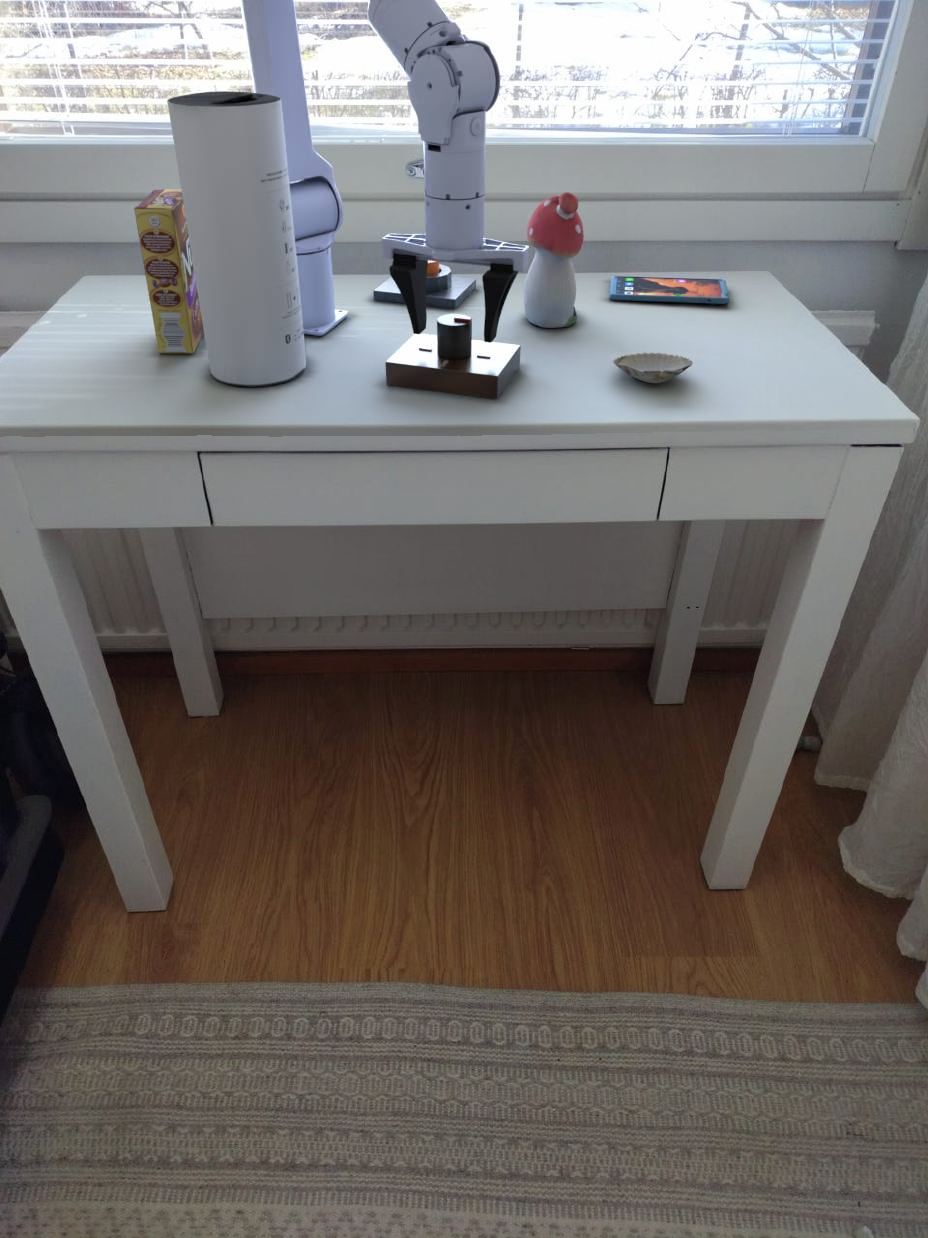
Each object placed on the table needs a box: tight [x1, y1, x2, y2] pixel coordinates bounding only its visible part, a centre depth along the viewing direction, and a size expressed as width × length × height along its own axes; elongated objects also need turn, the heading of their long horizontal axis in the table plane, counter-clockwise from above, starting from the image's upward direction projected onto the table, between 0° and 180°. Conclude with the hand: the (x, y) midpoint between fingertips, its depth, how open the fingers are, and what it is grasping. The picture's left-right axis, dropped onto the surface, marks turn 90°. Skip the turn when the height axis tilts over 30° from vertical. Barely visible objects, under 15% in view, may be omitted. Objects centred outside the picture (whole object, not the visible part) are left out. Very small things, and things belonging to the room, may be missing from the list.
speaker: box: [166, 90, 307, 388], centre depth 91 cm, size 11×10×26 cm
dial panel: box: [384, 333, 521, 401], centre depth 97 cm, size 12×9×3 cm
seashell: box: [612, 352, 693, 384], centre depth 97 cm, size 8×3×8 cm
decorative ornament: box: [523, 192, 585, 329], centre depth 107 cm, size 9×6×15 cm
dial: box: [436, 313, 473, 359], centre depth 95 cm, size 4×4×4 cm
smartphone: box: [608, 275, 730, 306], centre depth 120 cm, size 8×1×15 cm
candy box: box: [133, 188, 204, 355], centre depth 101 cm, size 9×4×15 cm, turn 2°
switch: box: [427, 261, 440, 275], centre depth 117 cm, size 4×4×2 cm
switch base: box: [372, 263, 477, 310], centre depth 119 cm, size 11×9×3 cm
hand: (454, 334), depth 95 cm, fingers open, 7 cm apart
